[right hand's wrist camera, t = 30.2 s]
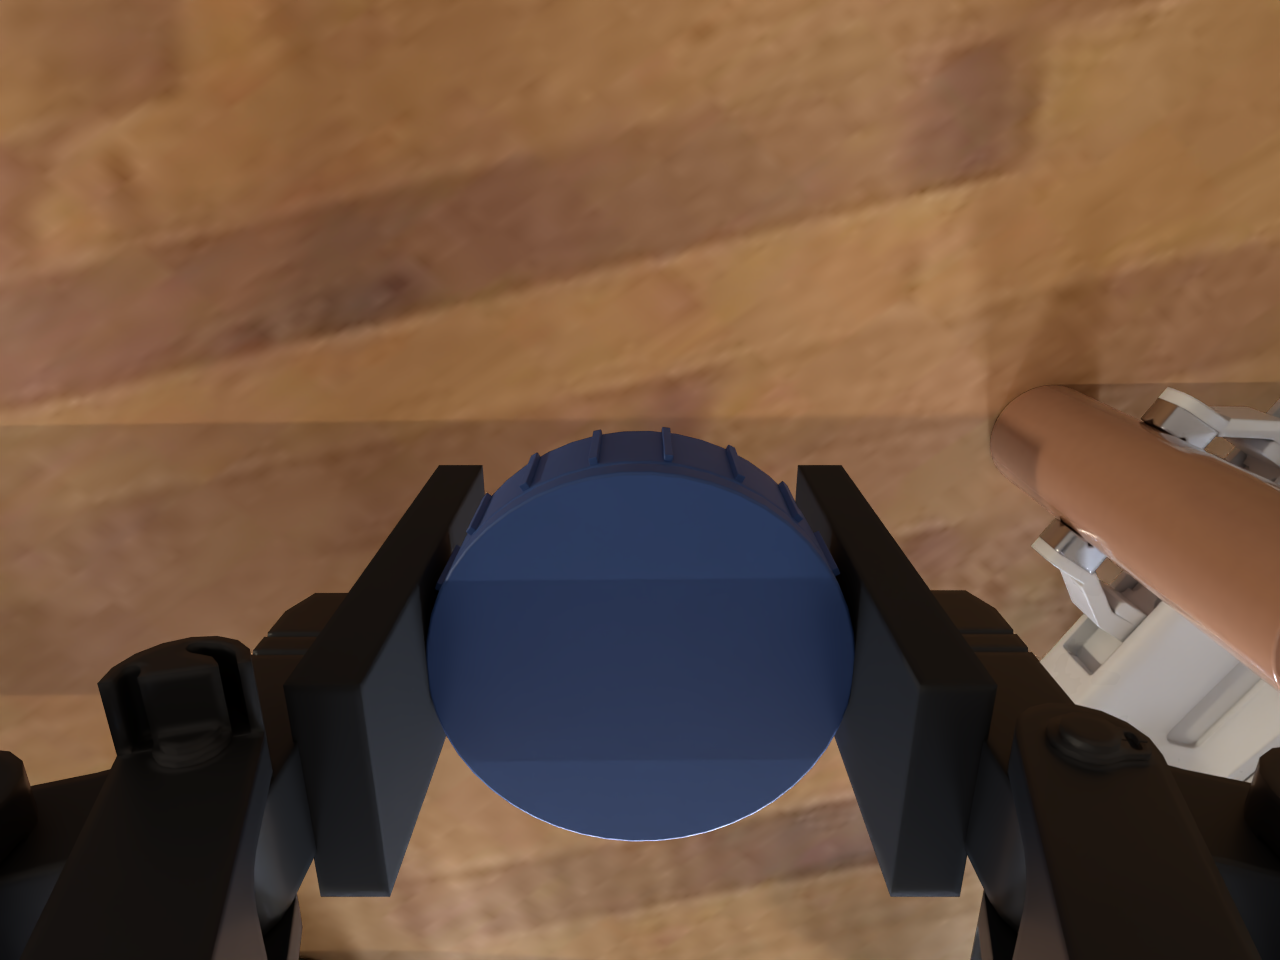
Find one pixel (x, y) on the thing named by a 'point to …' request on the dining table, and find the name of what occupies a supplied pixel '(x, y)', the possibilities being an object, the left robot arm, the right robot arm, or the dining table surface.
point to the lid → (640, 639)
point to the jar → (1156, 513)
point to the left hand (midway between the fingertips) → (1103, 474)
